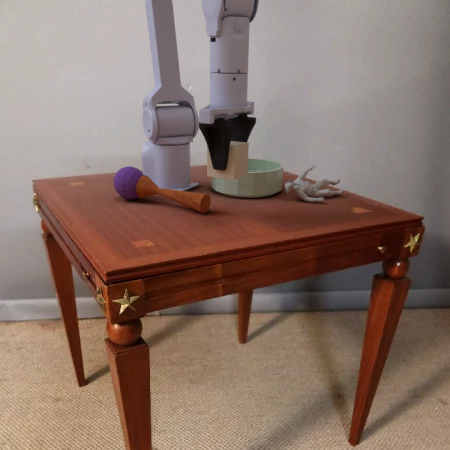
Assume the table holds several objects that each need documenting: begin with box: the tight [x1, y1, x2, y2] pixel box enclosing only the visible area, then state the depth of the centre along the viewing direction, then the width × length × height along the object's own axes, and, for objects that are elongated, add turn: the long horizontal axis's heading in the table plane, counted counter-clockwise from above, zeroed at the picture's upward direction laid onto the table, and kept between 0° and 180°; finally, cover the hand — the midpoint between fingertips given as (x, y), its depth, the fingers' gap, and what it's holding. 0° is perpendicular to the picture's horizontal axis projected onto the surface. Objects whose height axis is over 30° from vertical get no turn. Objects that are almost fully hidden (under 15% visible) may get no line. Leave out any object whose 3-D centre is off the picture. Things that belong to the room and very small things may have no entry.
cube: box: [206, 141, 250, 180], centre depth 81 cm, size 5×5×5 cm
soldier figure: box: [284, 165, 344, 203], centre depth 96 cm, size 8×5×12 cm
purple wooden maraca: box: [113, 165, 212, 214], centre depth 90 cm, size 6×6×20 cm
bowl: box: [211, 157, 284, 199], centre depth 100 cm, size 14×14×5 cm
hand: (227, 166), depth 81 cm, fingers closed on cube, 5 cm apart
